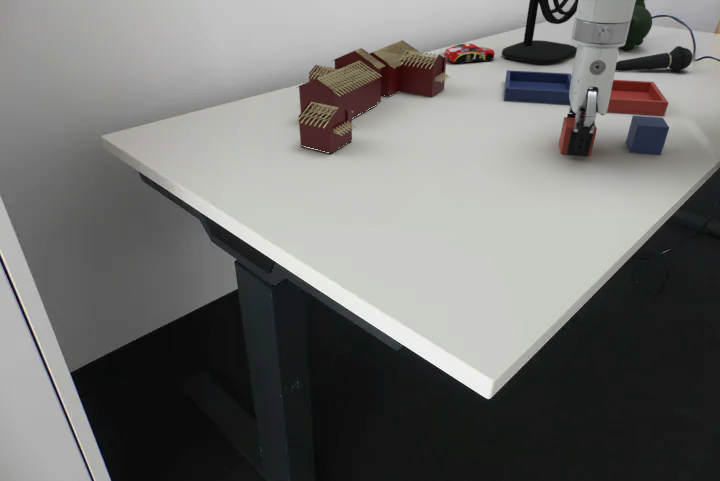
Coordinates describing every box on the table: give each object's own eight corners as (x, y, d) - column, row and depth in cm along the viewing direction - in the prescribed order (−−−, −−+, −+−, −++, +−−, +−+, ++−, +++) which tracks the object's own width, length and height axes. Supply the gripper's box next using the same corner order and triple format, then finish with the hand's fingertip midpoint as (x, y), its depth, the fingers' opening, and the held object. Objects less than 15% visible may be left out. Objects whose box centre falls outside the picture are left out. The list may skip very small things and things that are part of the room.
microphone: (601, 85, 128) (691, 75, 125) (606, 63, 124) (699, 53, 121) (595, 72, 131) (683, 62, 129) (600, 50, 127) (690, 40, 125)
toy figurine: (610, 41, 159) (604, 53, 139) (626, -30, 151) (623, -29, 131) (645, 44, 156) (644, 56, 136) (663, -29, 147) (666, -28, 127)
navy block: (655, 144, 90) (663, 117, 88) (661, 154, 87) (669, 127, 84) (625, 141, 91) (632, 115, 89) (630, 152, 88) (637, 125, 85)
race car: (488, 56, 141) (490, 40, 139) (498, 61, 136) (500, 44, 134) (441, 59, 138) (442, 43, 136) (449, 65, 134) (450, 48, 132)
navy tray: (568, 85, 118) (571, 73, 117) (573, 105, 107) (576, 92, 106) (505, 81, 121) (506, 70, 120) (503, 100, 110) (505, 88, 109)
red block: (587, 145, 90) (593, 119, 88) (590, 156, 86) (597, 129, 84) (558, 143, 91) (564, 116, 89) (560, 153, 87) (566, 126, 85)
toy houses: (375, 74, 127) (375, 29, 122) (455, 87, 118) (459, 39, 113) (245, 136, 95) (237, 78, 90) (342, 160, 86) (340, 98, 81)
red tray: (650, 94, 113) (653, 81, 111) (664, 116, 102) (668, 102, 100) (581, 90, 115) (584, 77, 114) (588, 111, 104) (591, 97, 103)
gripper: (638, 47, 71) (606, 170, 81) (618, 21, 85) (593, 129, 95) (578, 44, 72) (554, 165, 82) (568, 19, 87) (548, 125, 96)
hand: (575, 145), depth 88 cm, fingers open, 6 cm apart
